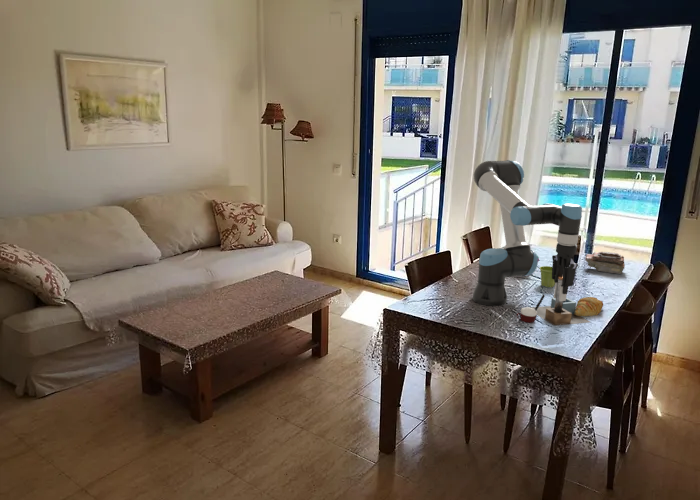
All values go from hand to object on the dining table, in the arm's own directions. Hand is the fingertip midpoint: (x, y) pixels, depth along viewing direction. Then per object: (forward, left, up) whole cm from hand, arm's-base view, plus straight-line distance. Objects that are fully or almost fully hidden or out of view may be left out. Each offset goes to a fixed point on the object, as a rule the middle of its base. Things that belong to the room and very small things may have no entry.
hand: (559, 299), depth 216 cm
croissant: (+19, +6, -10) cm, 22 cm away
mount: (0, 0, -10) cm, 10 cm away
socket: (+8, +8, -10) cm, 15 cm away
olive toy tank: (+68, +56, -10) cm, 89 cm away
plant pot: (+24, +42, -10) cm, 49 cm away
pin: (0, 0, -5) cm, 5 cm away
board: (+4, +5, -10) cm, 11 cm away
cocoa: (-12, +2, -10) cm, 16 cm away
